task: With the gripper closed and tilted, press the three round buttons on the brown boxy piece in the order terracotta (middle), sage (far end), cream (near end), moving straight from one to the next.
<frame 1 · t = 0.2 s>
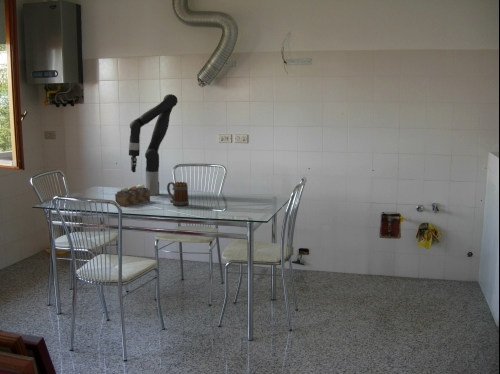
hand: (133, 171, 359), 17 cm above the table, tool pointing down, fingers open, 8 cm apart
brown boxy piece: (133, 203, 334), on the table
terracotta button: (132, 188, 332), point 10 cm above the table, slide at 0.0 cm
mug: (177, 205, 331), on the table
cream button: (141, 186, 339), point 10 cm above the table, slide at 0.0 cm
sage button: (124, 189, 325), point 10 cm above the table, slide at 0.0 cm
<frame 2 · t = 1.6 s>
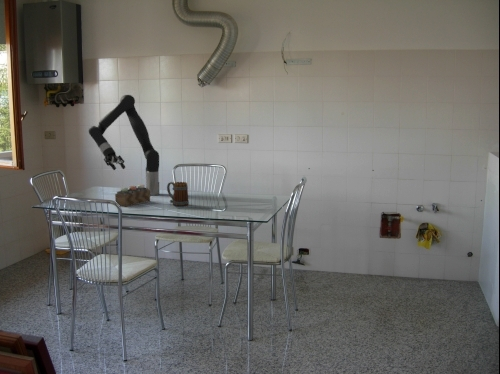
hand: (119, 168, 336), 22 cm above the table, tool tilted 45°, fingers open, 8 cm apart
nothing on the table moved.
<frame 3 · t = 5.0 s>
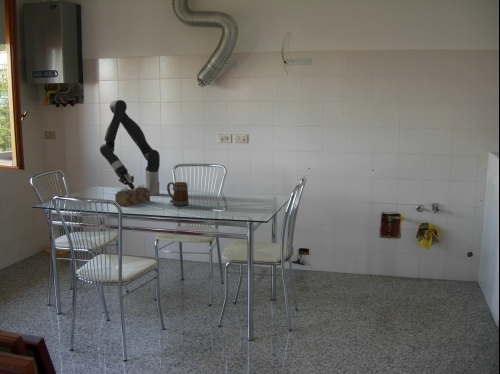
hand: (133, 188, 332), 10 cm above the table, tool tilted 45°, fingers closed
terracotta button: (132, 190, 332), point 9 cm above the table, slide at 1.7 cm, touching gripper
everything else where it was.
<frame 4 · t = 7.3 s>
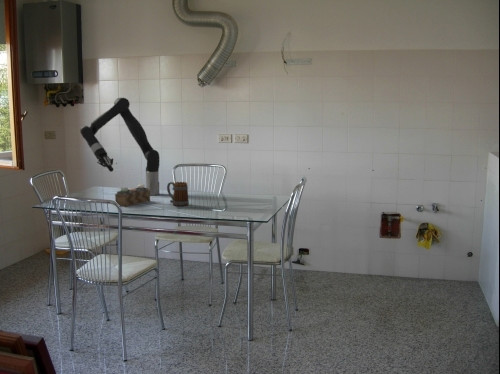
hand: (112, 170, 329), 22 cm above the table, tool tilted 45°, fingers closed
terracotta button: (132, 190, 332), point 9 cm above the table, slide at 1.7 cm
everything else where it was.
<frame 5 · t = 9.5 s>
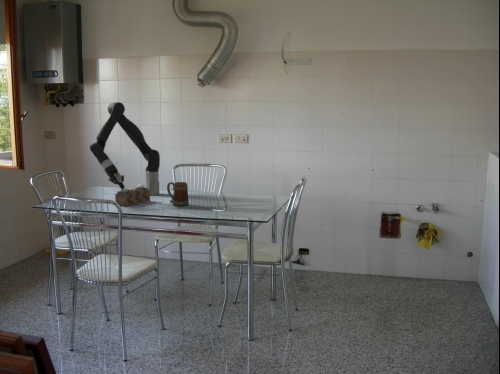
hand: (123, 187, 325), 11 cm above the table, tool tilted 45°, fingers closed
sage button: (124, 190, 325), point 10 cm above the table, slide at 0.5 cm
everything else where it was.
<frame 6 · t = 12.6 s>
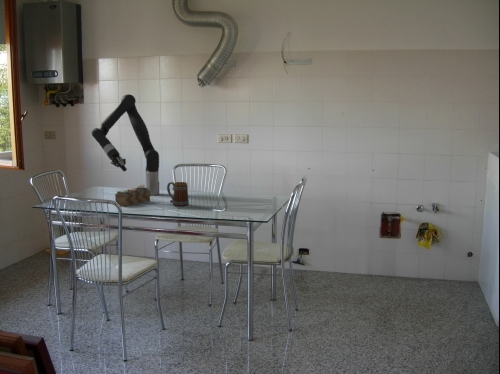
hand: (125, 170, 338), 21 cm above the table, tool tilted 45°, fingers closed
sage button: (124, 192, 325), point 9 cm above the table, slide at 1.6 cm
everything else where it was.
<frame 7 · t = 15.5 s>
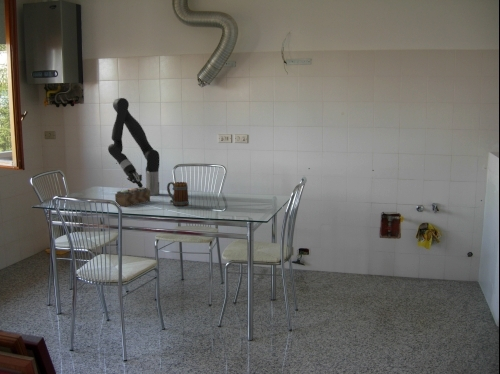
hand: (141, 186, 339), 10 cm above the table, tool tilted 45°, fingers closed
cream button: (141, 188, 339), point 9 cm above the table, slide at 1.6 cm, touching gripper
everything else where it was.
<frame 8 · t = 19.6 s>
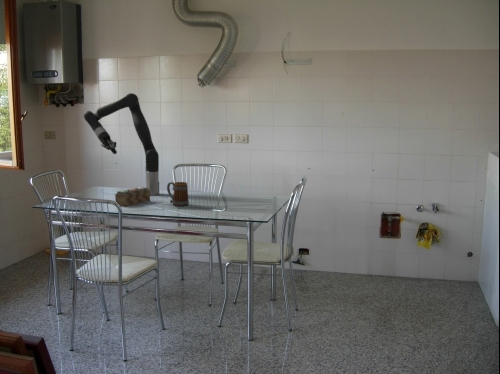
hand: (115, 153, 342), 32 cm above the table, tool tilted 45°, fingers closed
cream button: (141, 189, 339), point 8 cm above the table, slide at 1.7 cm, touching brown boxy piece
everything else where it was.
at the end: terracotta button slide at 1.7 cm; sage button slide at 1.6 cm; cream button slide at 1.7 cm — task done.
